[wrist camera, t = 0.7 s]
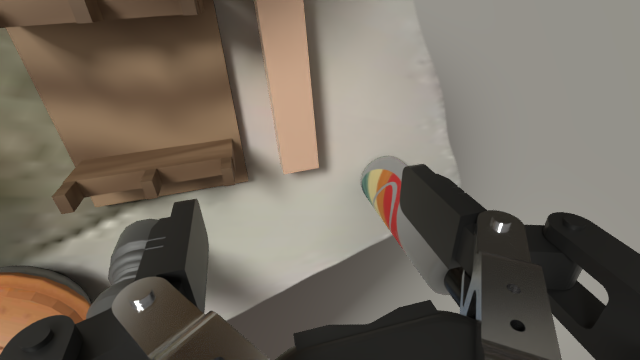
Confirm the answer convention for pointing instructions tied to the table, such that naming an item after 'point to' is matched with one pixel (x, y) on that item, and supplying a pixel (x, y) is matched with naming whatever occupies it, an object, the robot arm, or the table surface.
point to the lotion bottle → (407, 226)
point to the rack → (131, 94)
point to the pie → (36, 299)
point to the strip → (288, 81)
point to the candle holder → (123, 263)
